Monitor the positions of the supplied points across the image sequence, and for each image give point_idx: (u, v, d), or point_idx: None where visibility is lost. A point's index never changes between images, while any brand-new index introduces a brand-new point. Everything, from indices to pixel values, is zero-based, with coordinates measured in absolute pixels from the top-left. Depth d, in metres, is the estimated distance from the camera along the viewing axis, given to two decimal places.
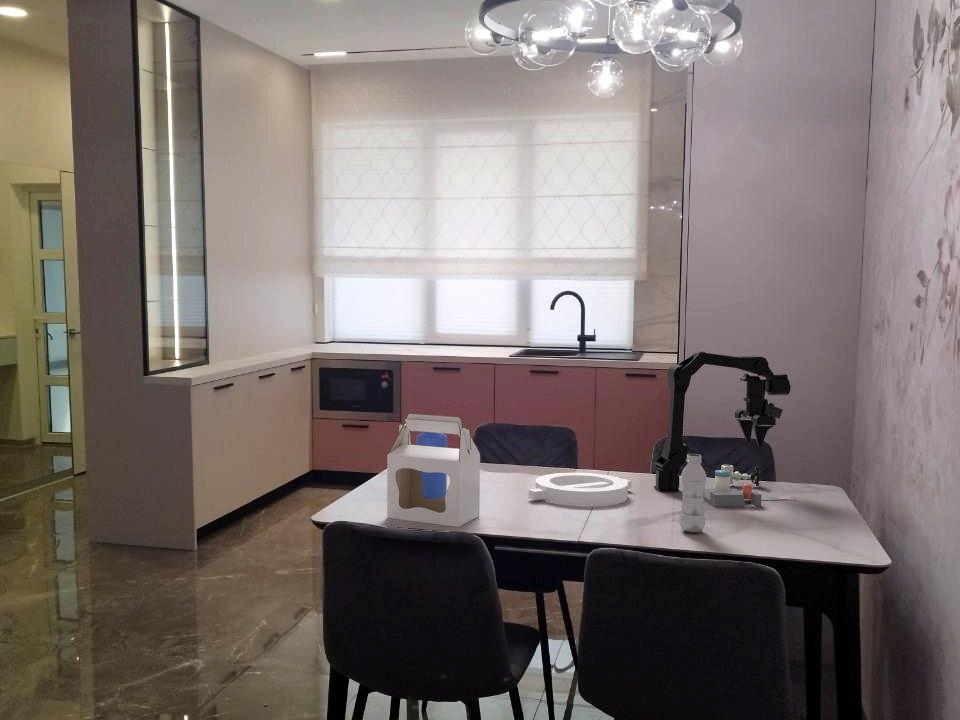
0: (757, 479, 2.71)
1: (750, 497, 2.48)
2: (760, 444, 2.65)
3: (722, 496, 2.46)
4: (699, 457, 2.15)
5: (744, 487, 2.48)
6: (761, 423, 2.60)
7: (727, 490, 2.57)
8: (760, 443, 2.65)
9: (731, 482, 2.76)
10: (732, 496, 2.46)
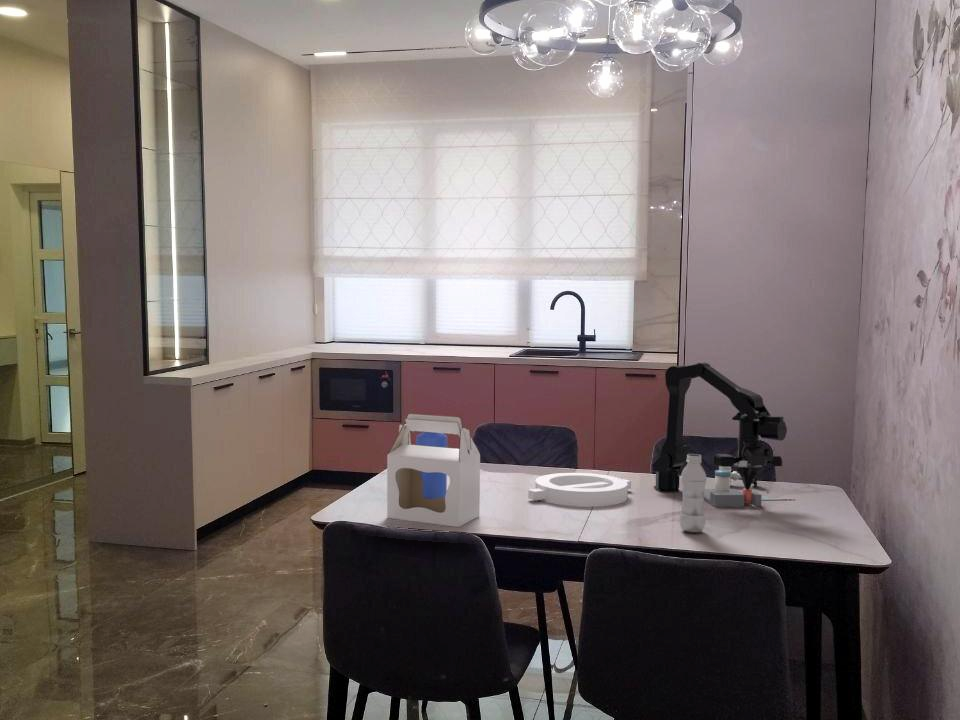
0: (755, 479, 2.72)
1: (750, 501, 2.48)
2: (745, 487, 2.49)
3: (722, 496, 2.46)
4: (699, 457, 2.15)
5: (744, 491, 2.48)
6: (715, 461, 2.49)
7: (727, 490, 2.57)
8: (745, 485, 2.49)
9: None
10: (732, 496, 2.46)
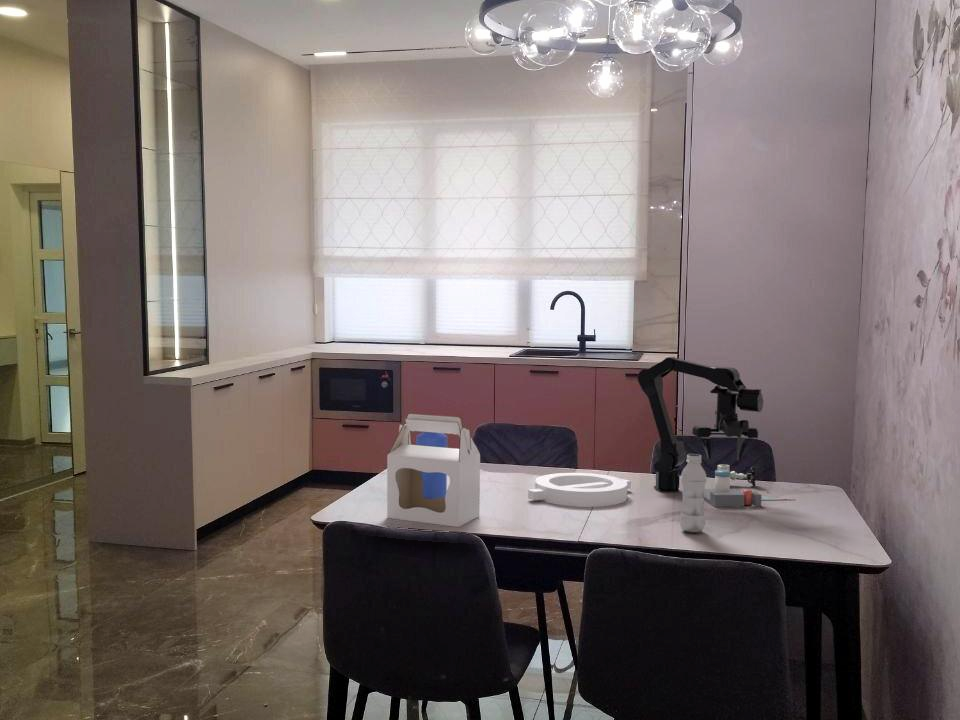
0: (753, 478, 2.72)
1: (750, 502, 2.48)
2: (708, 457, 2.57)
3: (722, 496, 2.46)
4: (699, 457, 2.15)
5: (744, 492, 2.48)
6: (693, 432, 2.58)
7: (727, 490, 2.57)
8: (707, 456, 2.57)
9: None
10: (732, 496, 2.46)
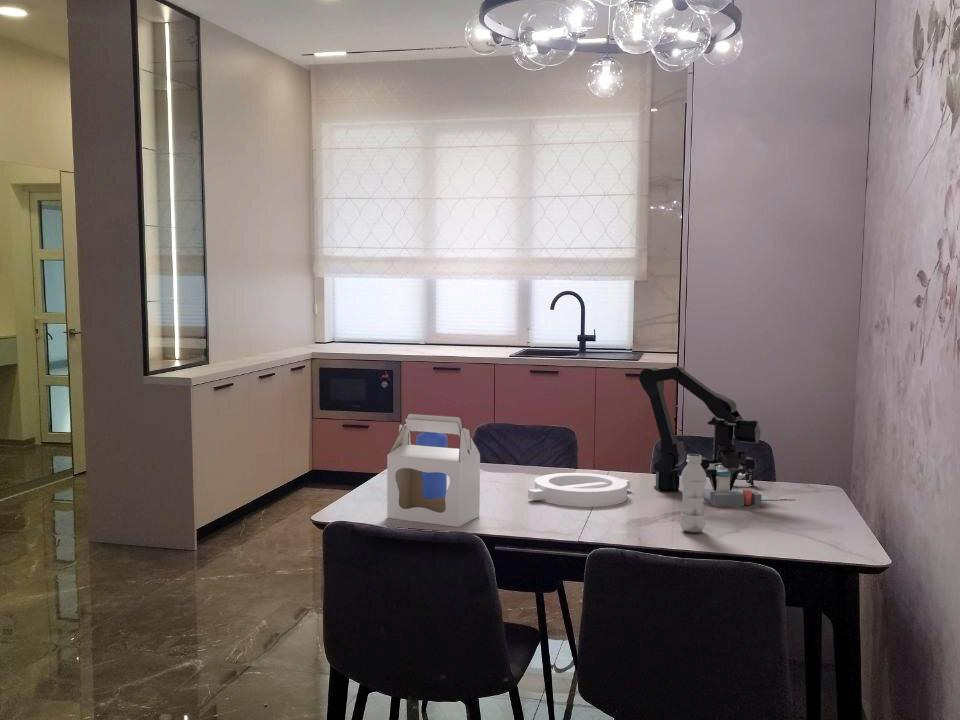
0: (752, 478, 2.73)
1: (750, 502, 2.48)
2: (713, 488, 2.59)
3: (722, 496, 2.46)
4: (699, 457, 2.15)
5: (744, 492, 2.48)
6: None
7: (727, 490, 2.57)
8: (713, 487, 2.59)
9: None
10: (732, 496, 2.46)
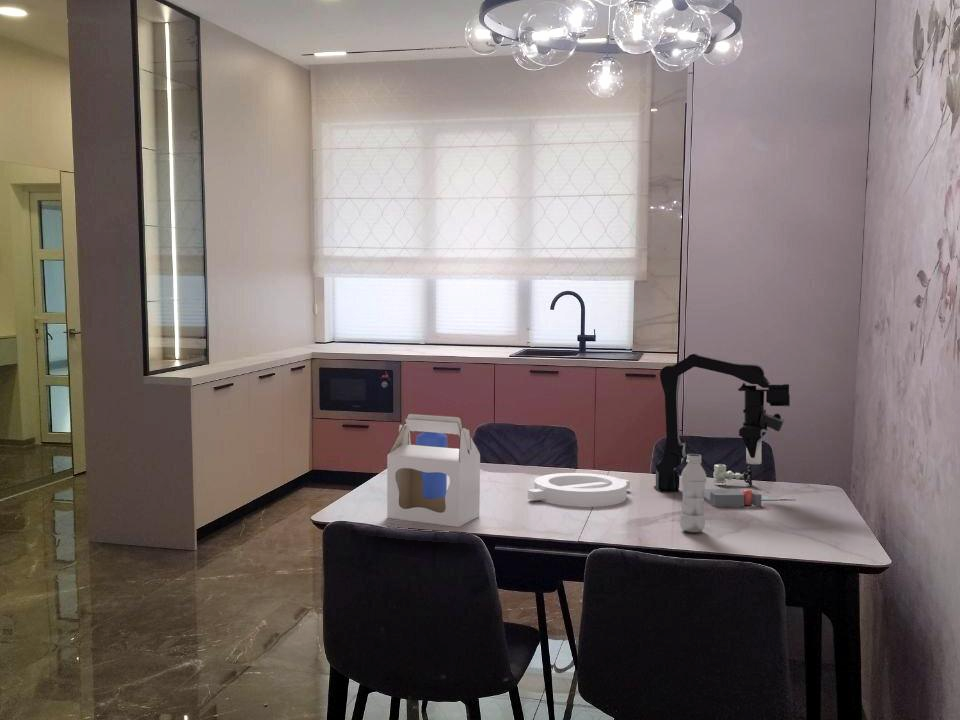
0: (750, 478, 2.73)
1: (750, 502, 2.48)
2: (752, 455, 2.56)
3: (722, 496, 2.46)
4: (699, 457, 2.15)
5: (744, 492, 2.48)
6: (743, 434, 2.51)
7: None
8: (752, 454, 2.56)
9: (724, 481, 2.77)
10: (732, 496, 2.46)
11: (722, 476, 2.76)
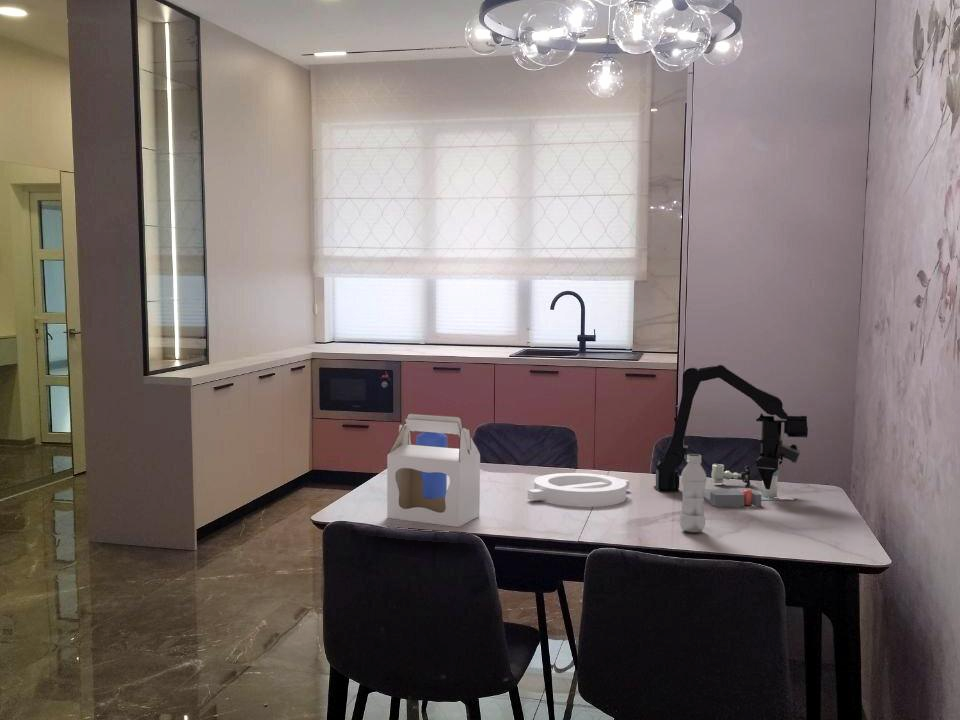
0: (748, 478, 2.73)
1: (750, 502, 2.48)
2: (767, 487, 2.56)
3: (722, 496, 2.46)
4: (699, 457, 2.15)
5: (744, 492, 2.48)
6: (760, 465, 2.52)
7: None
8: (767, 486, 2.56)
9: (722, 481, 2.77)
10: (732, 496, 2.46)
11: (720, 476, 2.76)
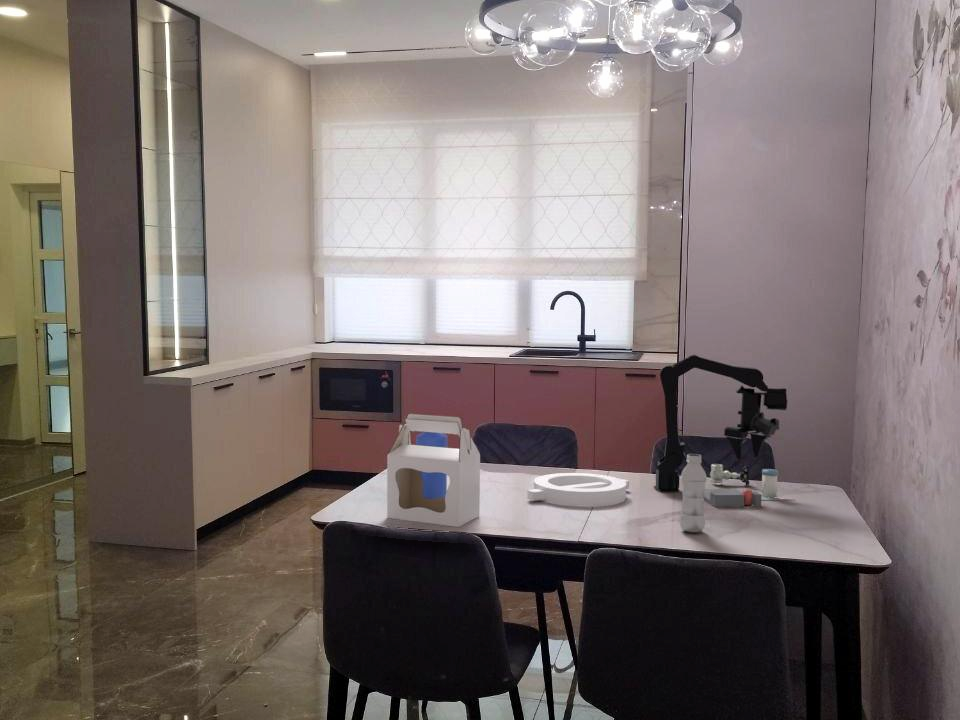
0: (747, 478, 2.73)
1: (750, 502, 2.48)
2: (738, 457, 2.60)
3: (722, 496, 2.46)
4: (699, 457, 2.15)
5: (744, 492, 2.48)
6: (726, 434, 2.58)
7: None
8: (738, 456, 2.60)
9: (721, 481, 2.77)
10: (732, 496, 2.46)
11: (719, 476, 2.76)
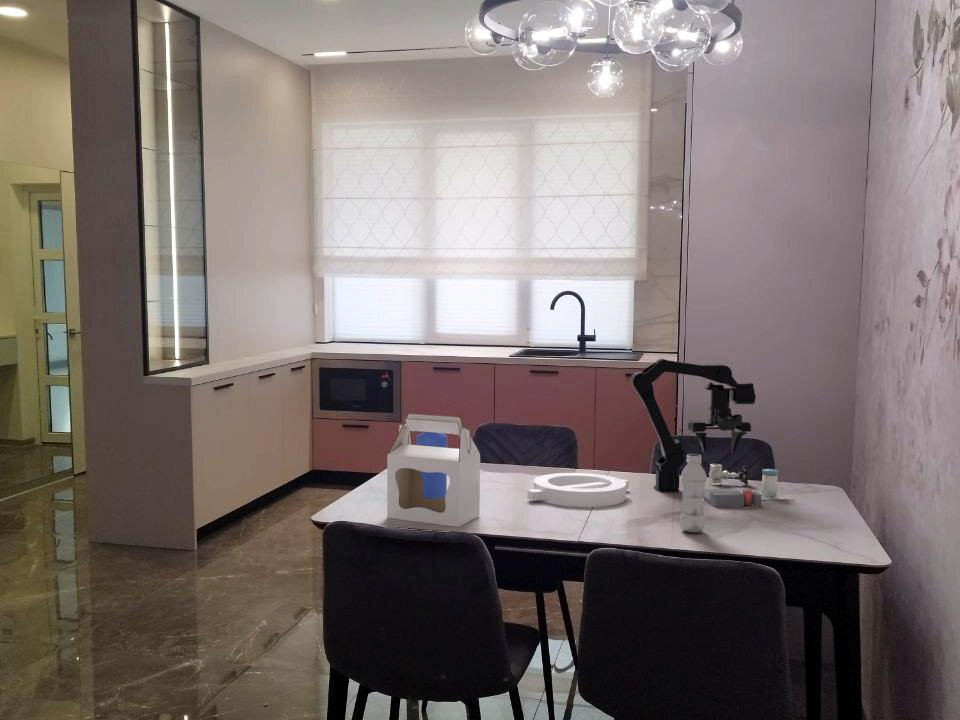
0: (746, 477, 2.74)
1: (750, 502, 2.48)
2: (703, 451, 2.67)
3: (722, 496, 2.46)
4: (699, 457, 2.15)
5: (744, 492, 2.48)
6: (688, 427, 2.68)
7: None
8: (703, 450, 2.67)
9: (720, 481, 2.77)
10: (732, 496, 2.46)
11: (718, 476, 2.76)
